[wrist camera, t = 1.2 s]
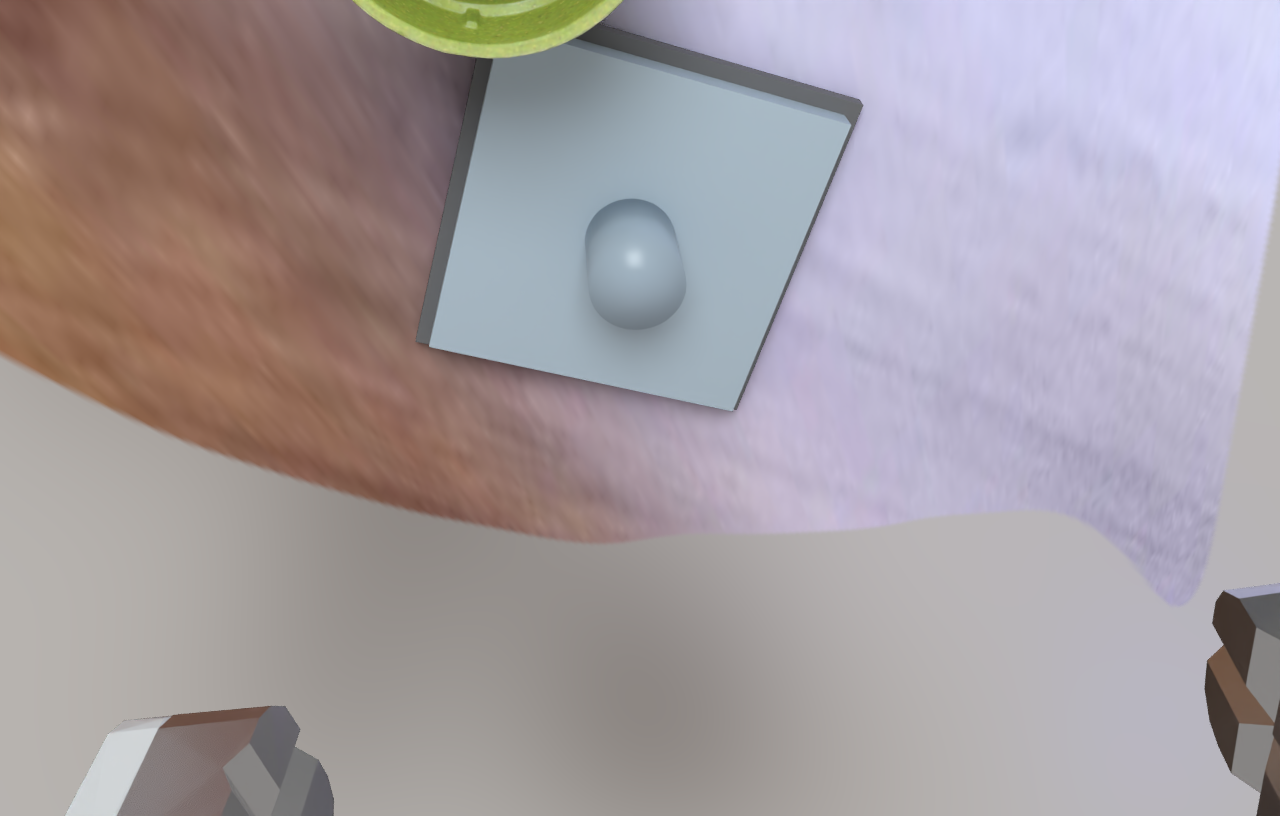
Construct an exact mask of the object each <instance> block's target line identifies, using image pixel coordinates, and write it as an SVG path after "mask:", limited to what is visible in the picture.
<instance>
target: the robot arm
mask: <svg viewBox="0 0 1280 816" xmlns="http://www.w3.org/2000/svg"><path fill="white" fill-rule="evenodd" d="M1212 624H1213V626H1214V628H1215V629H1216V631H1217V633H1218V635H1219V637H1220V638H1221V641H1222V643H1223V644H1224V645H1223V646H1222V647H1221V648H1220V649H1219V650H1218V651H1217V652H1216V653H1215V654H1214V655H1213V656H1211V658H1209V659H1208V660H1207V668H1206V678H1205V695H1206V701H1207V707H1208V714H1209V720H1210V723H1211V726H1212V729H1213V732H1214V735H1215V738H1216V741H1217V744H1218V747H1219V748H1220V751H1221V753H1222V755H1223V757H1224V759H1225V761H1226V763H1227V765H1228V767H1229V770H1230V771H1231V773H1232V774H1233V775H1235V776H1236V777H1238V778H1239V779H1240V780H1242V781H1243V782H1245V783H1246V784H1248V785H1249V786H1251V787H1252V788H1254V789H1255V790H1256V791H1258V792H1260V793H1261V794H1260V799H1259V805H1258V810H1257V816H1280V583H1277V584H1269V585H1262V586H1254V587H1246V588H1239V589H1232V590H1224V591H1223V592H1222V593H1221V595H1220V596H1219V598H1218V599H1217V601H1216V603H1215V609H1214V616H1213V622H1212ZM299 732H300V728H299V726H298V725H297V723H296V722H295V720H294V719H293V717H292V716H291V714H290V713H289V711H288V710H287V708H286V707H285V706H265V707H254V708H243V709H233V710H221V711H211V712H200V713H189V714H178V715H173V716H163V717H154V718H143V719H134V720H124V721H123V722H122V723H121V724H119V725H118V726H117V727H116V728H114V729H113V730H112V731H111V732H110V733H108V735H107V736H106V738H105V740H104V742H103V744H102V746H101V748H100V750H99V752H98V753H97V755H96V757H95V759H94V761H93V763H92V765H91V767H90V769H89V771H88V772H87V774H86V776H85V778H84V780H83V782H82V784H81V786H80V788H79V790H78V791H77V793H76V795H75V797H74V799H73V801H72V803H71V805H70V807H69V808H68V810H67V812H66V814H65V816H333V814H334V798H333V794H332V790H331V786H330V782H329V779H328V776H327V774H326V772H325V771H324V769H323V767H322V765H321V763H320V762H319V760H318V759H316V758H314V757H313V756H311V755H309V754H307V753H305V752H304V751H302V750H300V749H298V748H296V747H295V744H296V741H297V738H298V735H299Z"/></svg>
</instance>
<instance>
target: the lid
mask: <svg viewBox="0 0 1280 816" xmlns="http://www.w3.org/2000/svg"><path fill="white" fill-rule="evenodd" d="M850 127H851V124H850V122H849V121H848V119H847V118H846V117H845V115H842V114H839V113H835V112H832V111H828V110H825V109H821V108H818V107H814V106H811V105H807V104H804V103H800V102H797V101H793V100H790V99H786V98H783V97H779V96H776V95H772V94H769V93H765V92H762V91H758V90H755V89H751V88H748V87H744V86H741V85H737V84H734V83H730V82H727V81H723V80H719V79H716V78H712V77H709V76H705V75H702V74H698V73H695V72H691V71H688V70H684V69H681V68H677V67H674V66H670V65H667V64H663V63H660V62H656V61H653V60H649V59H646V58H642V57H639V56H635V55H632V54H628V53H625V52H621V51H618V50H614V49H611V48H607V47H604V46H600V45H597V44H593V43H590V42H586V41H583V40H579V39H576V38H574V39H572V40H570V41H568V42H566V43H564V44H561V45H559V46H557V47H553V48H551V49H549V50H546V51H542V52H539V53H534V54H529V55H524V56H518V57H511V58H493V61H492V65H491V70H490V74H489V78H488V83H487V87H486V92H485V96H484V101H483V105H482V110H481V114H480V118H479V123H478V127H477V132H476V136H475V141H474V145H473V150H472V154H471V158H470V163H469V167H468V172H467V176H466V181H465V185H464V190H463V194H462V199H461V203H460V207H459V212H458V216H457V221H456V225H455V230H454V234H453V239H452V243H451V247H450V252H449V256H448V261H447V265H446V270H445V274H444V279H443V283H442V287H441V292H440V296H439V301H438V305H437V310H436V314H435V319H434V323H433V328H432V332H431V337H430V343H429V347H432V348H437V349H441V350H446V351H451V352H455V353H460V354H465V355H470V356H474V357H479V358H484V359H488V360H493V361H498V362H503V363H507V364H512V365H517V366H521V367H526V368H531V369H535V370H540V371H545V372H550V373H554V374H559V375H564V376H568V377H573V378H578V379H582V380H587V381H592V382H597V383H601V384H606V385H611V386H615V387H620V388H625V389H629V390H634V391H639V392H644V393H648V394H653V395H658V396H662V397H667V398H672V399H676V400H681V401H686V402H691V403H695V404H700V405H705V406H709V407H714V408H719V409H723V410H728V411H733V409H734V407H735V404H736V402H737V400H738V397H739V395H740V392H741V390H742V388H743V385H744V383H745V380H746V378H747V376H748V373H749V371H750V368H751V366H752V363H753V361H754V359H755V356H756V354H757V351H758V349H759V347H760V344H761V342H762V339H763V337H764V335H765V332H766V330H767V327H768V325H769V322H770V320H771V318H772V315H773V313H774V310H775V308H776V306H777V303H778V301H779V298H780V296H781V294H782V291H783V289H784V286H785V284H786V281H787V279H788V277H789V274H790V272H791V269H792V267H793V265H794V262H795V260H796V257H797V255H798V252H799V250H800V248H801V245H802V243H803V240H804V238H805V236H806V233H807V231H808V228H809V226H810V224H811V221H812V219H813V216H814V214H815V211H816V209H817V207H818V204H819V202H820V199H821V197H822V195H823V192H824V190H825V187H826V185H827V183H828V180H829V178H830V175H831V173H832V170H833V168H834V166H835V163H836V161H837V158H838V156H839V154H840V151H841V149H842V146H843V144H844V142H845V139H846V137H847V134H848V132H849V129H850Z"/></svg>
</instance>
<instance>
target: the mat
mask: <svg viewBox="0 0 1280 816" xmlns="http://www.w3.org/2000/svg"><path fill="white" fill-rule="evenodd" d="M576 39H579V40H583V41H586V42H590V43H593V44H597V45H600V46H604V47H607V48H611V49H614V50H618V51H621V52H625V53H628V54H632V55H635V56H639V57H642V58H646V59H649V60H653V61H656V62H660V63H663V64H667V65H670V66H674V67H677V68H681V69H684V70H688V71H691V72H695V73H698V74H702V75H705V76H709V77H712V78H716V79H719V80H723V81H727V82H730V83H734V84H737V85H741V86H744V87H748V88H751V89H755V90H758V91H762V92H765V93H769V94H772V95H776V96H779V97H783V98H786V99H790V100H793V101H797V102H800V103H804V104H807V105H811V106H814V107H818V108H821V109H825V110H828V111H832V112H835V113H839V114H842V115H845V117H846V118H847V119H848V121H849V122H850V124H851V127H850V129H849V132H848V134H847V137H846V139H845V142H844V144H843V146H842V149H841V151H840V154H839V156H838V158H837V161H836V163H835V166H834V168H833V170H832V173H831V175H830V178H829V180H828V183H827V185H826V187H825V190H824V192H823V195H822V197H821V199H820V202H819V204H818V207H817V209H816V211H815V214H814V216H813V219H812V221H811V224H810V226H809V228H808V231H807V233H806V236H805V238H804V240H803V243H802V245H801V248H800V250H799V252H798V255H797V257H796V260H795V262H794V265H793V267H792V269H791V272H790V274H789V277H788V279H787V281H786V284H785V286H784V289H783V291H782V294H781V296H780V298H779V301H778V303H777V306H776V308H775V310H774V313H773V315H772V318H771V320H770V322H769V325H768V327H767V330H766V332H765V335H764V337H763V339H762V342H761V344H760V347H759V349H758V351H757V354H756V356H755V359H754V361H753V363H752V366H751V368H750V371H749V373H748V376H747V378H746V380H745V383H744V385H743V388H742V390H741V392H740V395H739V397H738V400H737V402H736V404H735V407H734V410H737V407H738V405H739V403H740V400H741V398H742V395H743V393H744V391H745V388H746V386H747V383H748V381H749V379H750V376H751V374H752V371H753V369H754V367H755V364H756V362H757V359H758V357H759V355H760V352H761V350H762V347H763V345H764V343H765V340H766V338H767V335H768V333H769V331H770V328H771V326H772V323H773V321H774V319H775V316H776V314H777V311H778V309H779V307H780V304H781V302H782V299H783V297H784V295H785V292H786V290H787V287H788V285H789V283H790V280H791V278H792V275H793V273H794V271H795V268H796V266H797V263H798V261H799V259H800V256H801V254H802V251H803V249H804V247H805V244H806V242H807V239H808V237H809V234H810V232H811V230H812V227H813V225H814V222H815V220H816V218H817V215H818V213H819V210H820V208H821V206H822V203H823V201H824V198H825V196H826V194H827V191H828V189H829V186H830V184H831V182H832V179H833V177H834V174H835V172H836V170H837V167H838V165H839V162H840V160H841V158H842V155H843V153H844V150H845V148H846V146H847V143H848V141H849V138H850V136H851V134H852V131H853V129H854V126H855V124H856V122H857V119H858V117H859V114H860V112H861V110H862V107H863V104H862V103H861V101H860V100H859V99H856V98H852V97H849V96H845V95H842V94H838V93H835V92H832V91H828V90H825V89H821V88H818V87H814V86H811V85H807V84H804V83H800V82H797V81H794V80H790V79H787V78H783V77H780V76H776V75H773V74H769V73H766V72H762V71H759V70H756V69H752V68H749V67H745V66H742V65H738V64H735V63H731V62H728V61H724V60H721V59H717V58H714V57H711V56H707V55H704V54H700V53H697V52H693V51H690V50H686V49H683V48H679V47H676V46H673V45H669V44H666V43H662V42H659V41H655V40H652V39H648V38H645V37H641V36H638V35H635V34H631V33H628V32H624V31H621V30H617V29H614V28H610V27H607V26H603V25H600V24H597V25H595V26H594V27H592V28H591V29H589V30H588V31H586V32H585V33H583V34H582V35H580V36H578V37H576ZM492 61H493V58H477V59H476V64H475V69H474V73H473V78H472V82H471V87H470V92H469V96H468V101H467V105H466V110H465V115H464V119H463V124H462V129H461V133H460V138H459V142H458V147H457V152H456V156H455V161H454V165H453V170H452V175H451V179H450V184H449V188H448V193H447V198H446V202H445V207H444V212H443V216H442V221H441V225H440V230H439V235H438V239H437V244H436V248H435V253H434V258H433V262H432V267H431V272H430V276H429V281H428V285H427V290H426V295H425V299H424V304H423V308H422V313H421V318H420V322H419V327H418V331H417V336H416V342H420V343H425V344H429V343H430V337H431V332H432V328H433V323H434V319H435V314H436V310H437V305H438V301H439V296H440V292H441V287H442V283H443V279H444V274H445V270H446V265H447V261H448V256H449V252H450V247H451V243H452V239H453V234H454V230H455V225H456V221H457V216H458V212H459V207H460V203H461V199H462V194H463V190H464V185H465V181H466V176H467V172H468V167H469V163H470V158H471V154H472V150H473V145H474V141H475V136H476V132H477V127H478V123H479V118H480V114H481V110H482V105H483V101H484V96H485V92H486V87H487V83H488V78H489V74H490V70H491V65H492Z"/></svg>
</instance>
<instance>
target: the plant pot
mask: <svg viewBox="0 0 1280 816" xmlns="http://www.w3.org/2000/svg"><path fill="white" fill-rule="evenodd" d="M352 1H353V2H354V3H356V4H357V5H358V6H359V7H360V8H361V9H362V10H364V11H365V12H366V13H367V14H368V15H370V16H371V17H372V18H374V19H375V20H377V21H378V22H379V23H381V24H382V25H384V26H386V27H387V28H389V29H391V30H392V31H394V32H396V33H398V34H400V35H402V36H404V37H406V38H407V39H409V40H411V41H414V42H416V43H418V44H421V45H423V46H426V47H428V48H431V49H434V50H437V51H440V52H444V53H449V54H455V55H462V56H468V57H477V58H511V57H518V56H524V55H529V54H534V53H539V52H542V51H546V50H549V49H551V48H553V47H557V46H559V45H561V44H564V43H566V42H568V41H570V40H572V39H574V38H576V37H578V36H580V35H582V34H583V33H585V32H586V31H588V30H589V29H591V28H592V27H594V26H595V25H597V24H598V23H599V22H600V21H602V20H603V19H604V18H606V17H607V16H608V15H609V14H610V13H611V12H612V11H613V10H614V9H616V8H617V7H618V6H619V5H620V4H621V3H622V2H623V1H624V0H352Z"/></svg>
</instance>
